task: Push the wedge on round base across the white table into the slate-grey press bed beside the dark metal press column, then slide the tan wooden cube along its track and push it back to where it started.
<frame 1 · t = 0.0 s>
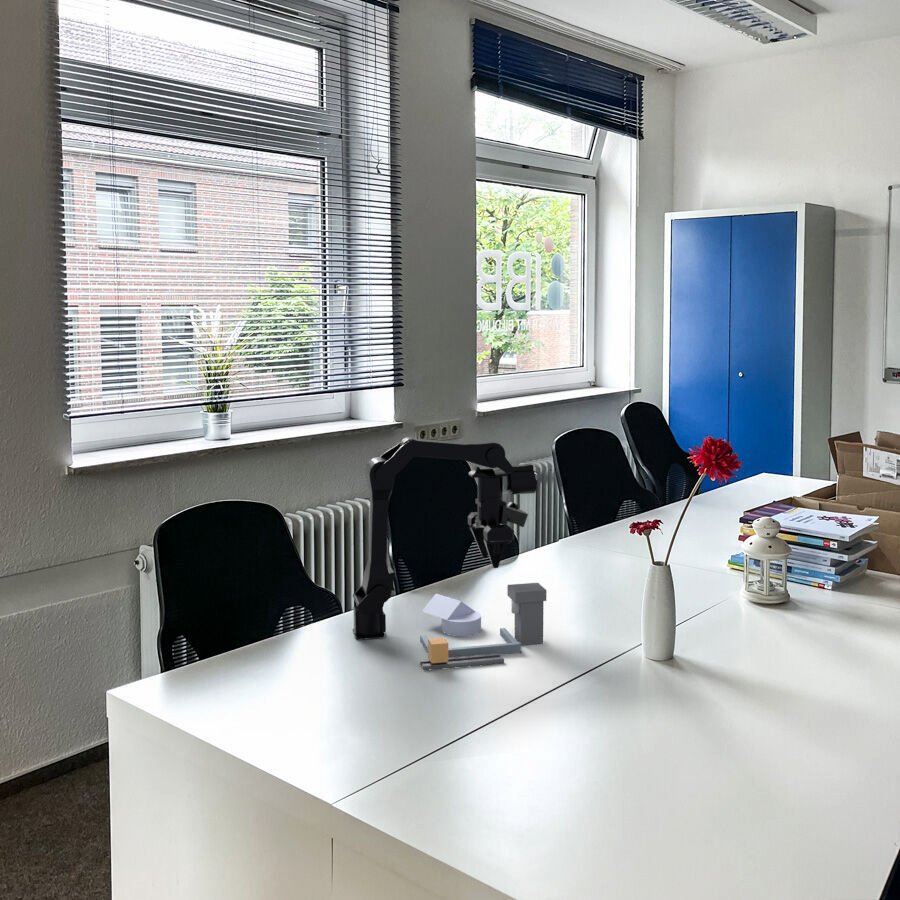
hand: (490, 562, 228), 15 cm above the table, tool pointing down, fingers open, 9 cm apart
tan wooden cube: (438, 652, 203), point 3 cm above the table, slide at 0.0 cm
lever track: (461, 664, 205), on the table
wedge on round base: (455, 628, 228), on the table
press bed: (469, 646, 216), on the table
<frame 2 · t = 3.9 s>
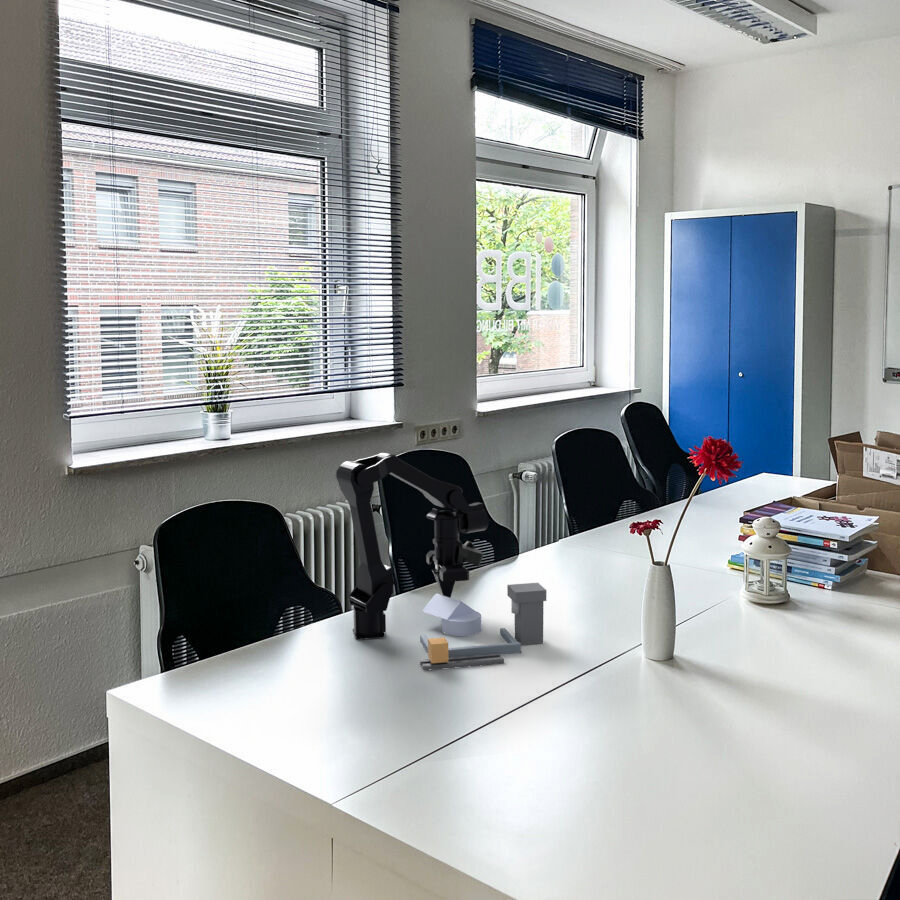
hand: (447, 600, 235), 4 cm above the table, tool pointing down, fingers closed
wedge on round base: (455, 628, 228), on the table, touching gripper
everything else where it was.
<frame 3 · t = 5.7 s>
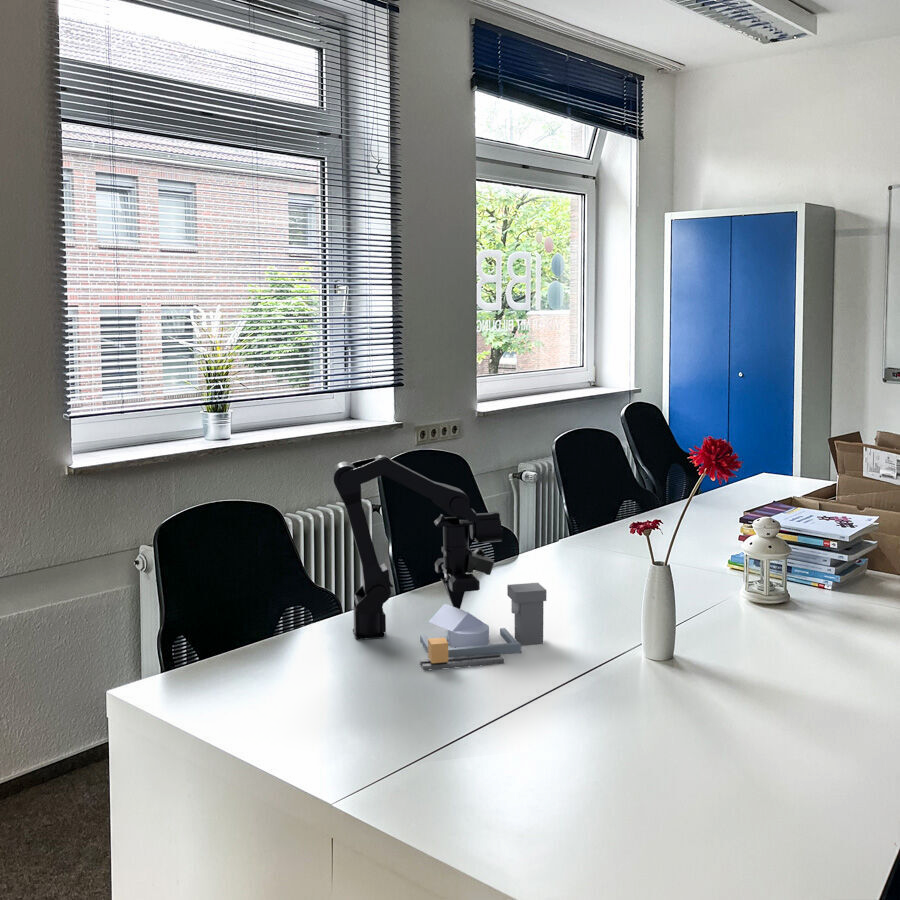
hand: (457, 610, 227), 4 cm above the table, tool pointing down, fingers closed
wedge on round base: (462, 640, 220), on the table, touching gripper
everything else where it was.
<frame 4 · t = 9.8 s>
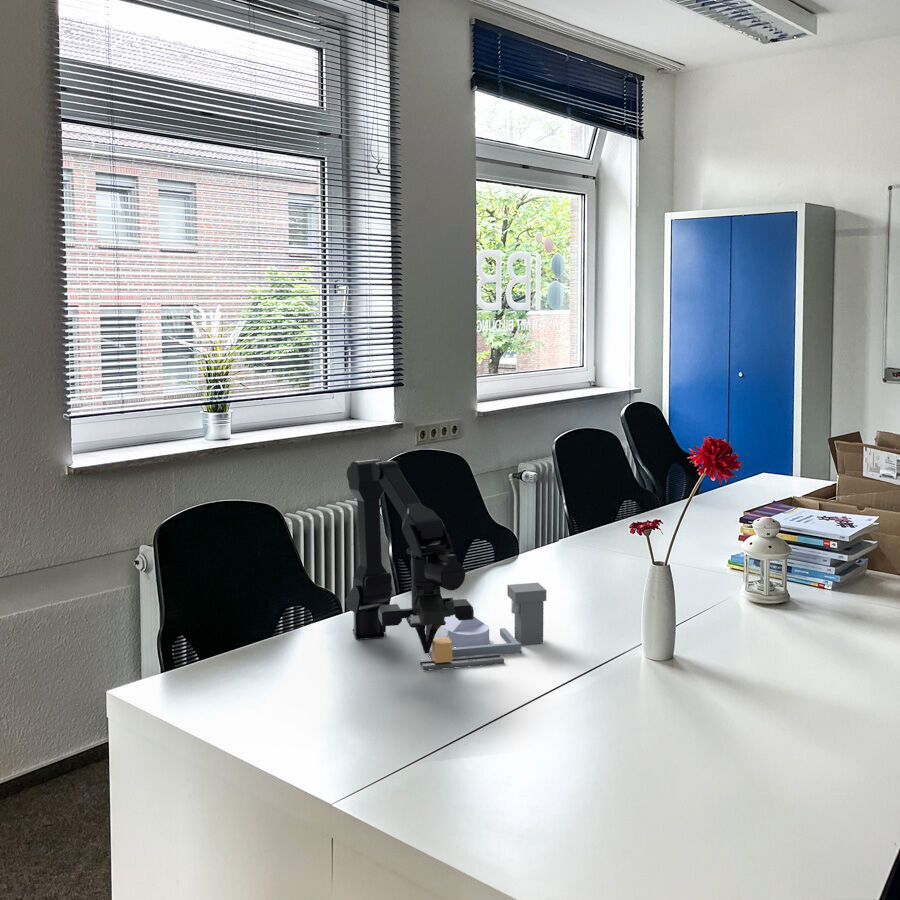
hand: (426, 652, 203), 3 cm above the table, tool pointing down, fingers closed
tan wooden cube: (441, 652, 204), point 3 cm above the table, slide at 0.8 cm, touching gripper
wedge on round base: (463, 640, 220), on the table
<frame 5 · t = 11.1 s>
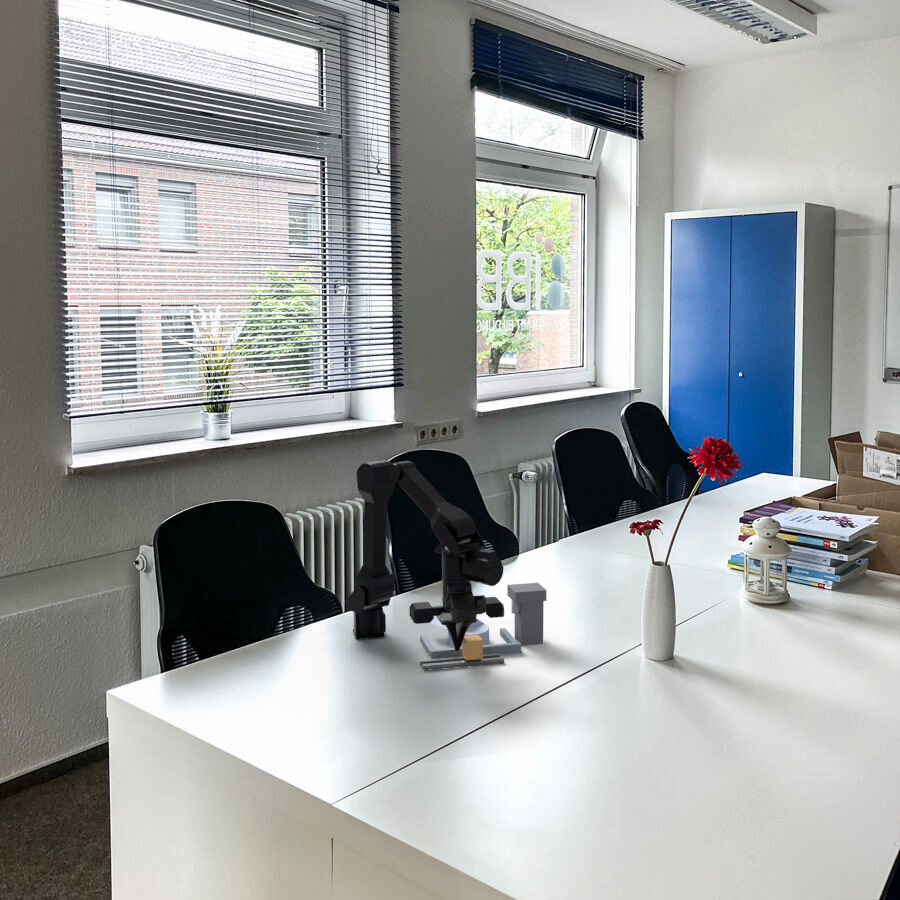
hand: (457, 650, 204), 3 cm above the table, tool pointing down, fingers closed
tan wooden cube: (472, 649, 205), point 3 cm above the table, slide at 7.2 cm, touching gripper
everything else where it was.
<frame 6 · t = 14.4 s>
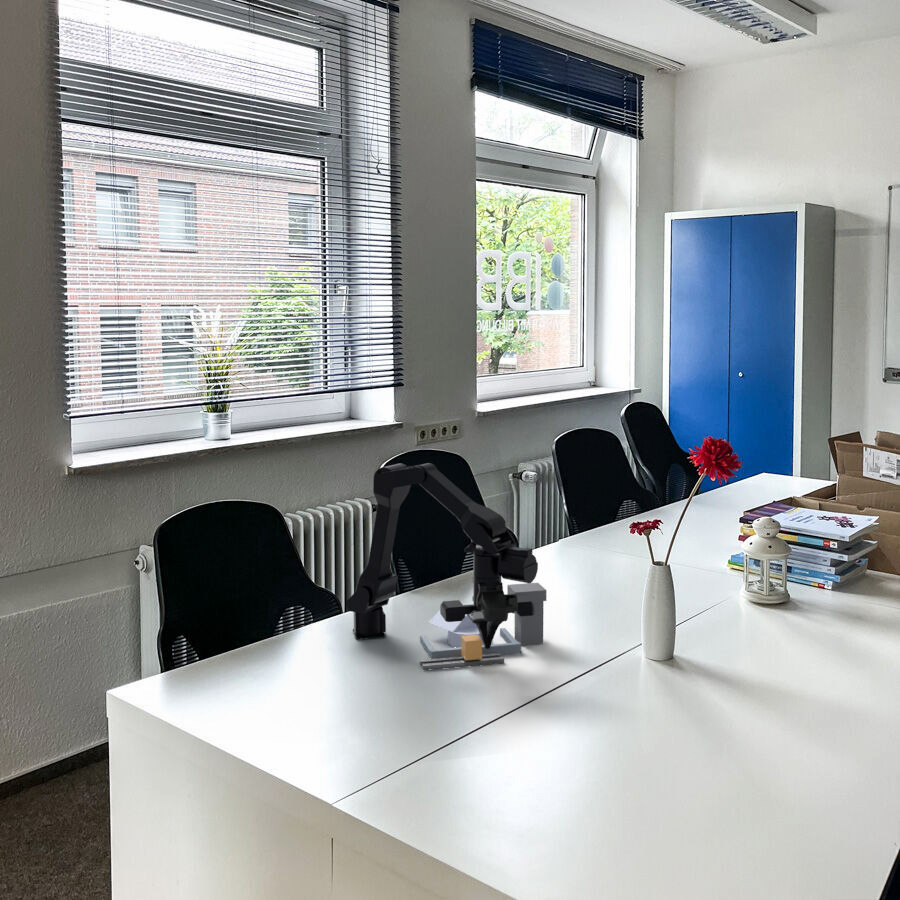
hand: (487, 648, 206), 3 cm above the table, tool pointing down, fingers closed
nothing on the table moved.
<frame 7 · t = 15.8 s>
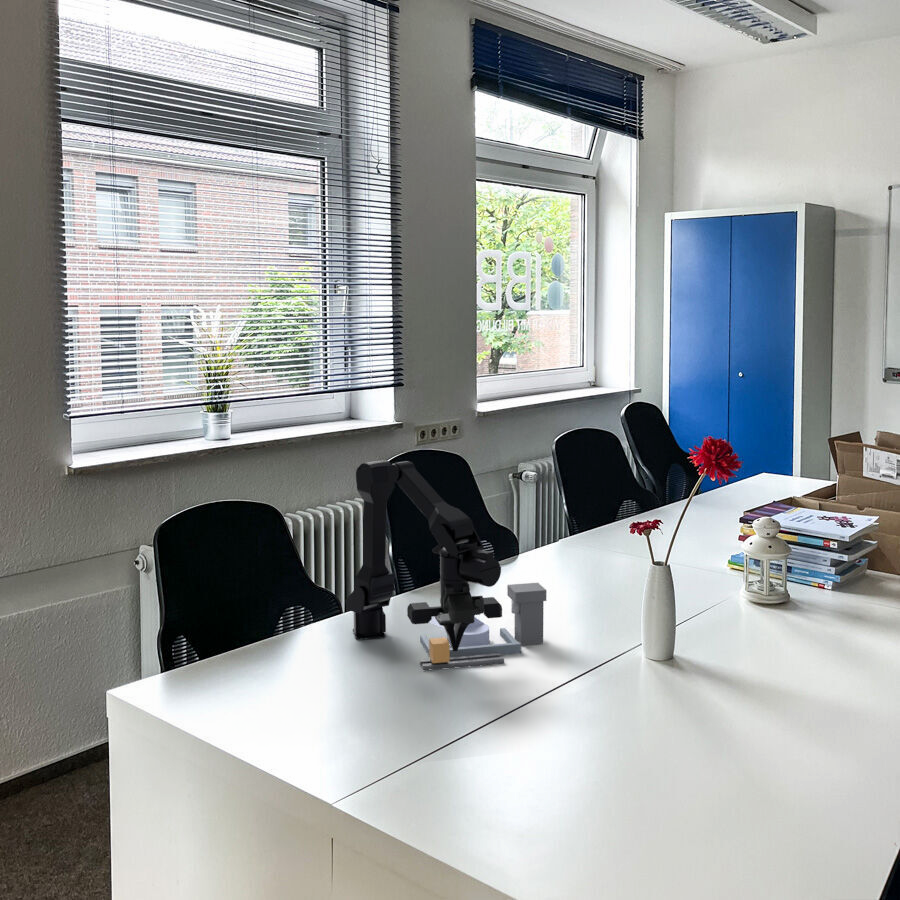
hand: (454, 650, 204), 3 cm above the table, tool pointing down, fingers closed
tan wooden cube: (439, 652, 204), point 3 cm above the table, slide at 0.2 cm, touching gripper
everything else where it was.
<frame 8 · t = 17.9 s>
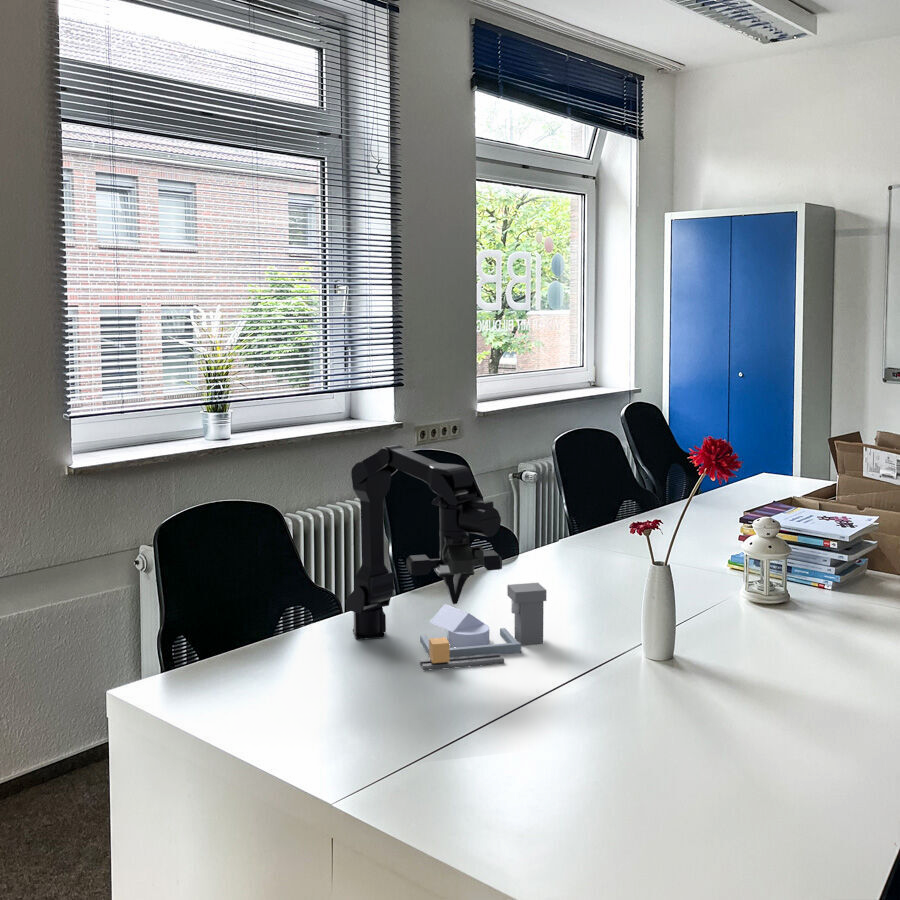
hand: (454, 603, 203), 13 cm above the table, tool pointing down, fingers closed
tan wooden cube: (439, 652, 204), point 3 cm above the table, slide at 0.2 cm
everything else where it was.
at the end: wedge on round base inside the target area (0.7 cm from its centre), on the table; wedge on round base tilted 0°; tan wooden cube slide at 0.2 cm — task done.
